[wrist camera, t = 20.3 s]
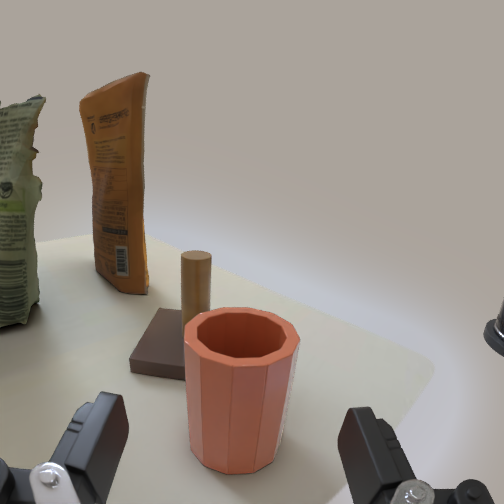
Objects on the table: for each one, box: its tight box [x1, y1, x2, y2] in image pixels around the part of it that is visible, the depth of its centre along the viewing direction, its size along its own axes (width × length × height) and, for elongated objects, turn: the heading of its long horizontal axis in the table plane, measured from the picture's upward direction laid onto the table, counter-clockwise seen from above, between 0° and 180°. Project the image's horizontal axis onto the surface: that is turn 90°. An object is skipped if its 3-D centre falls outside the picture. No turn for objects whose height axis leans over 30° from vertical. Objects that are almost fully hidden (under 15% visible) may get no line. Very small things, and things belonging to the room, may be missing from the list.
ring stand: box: [129, 251, 212, 380], centre depth 29 cm, size 10×10×10 cm
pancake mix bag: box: [79, 72, 150, 294], centre depth 41 cm, size 7×19×28 cm, turn 46°
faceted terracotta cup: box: [184, 307, 300, 474], centre depth 18 cm, size 6×6×9 cm
